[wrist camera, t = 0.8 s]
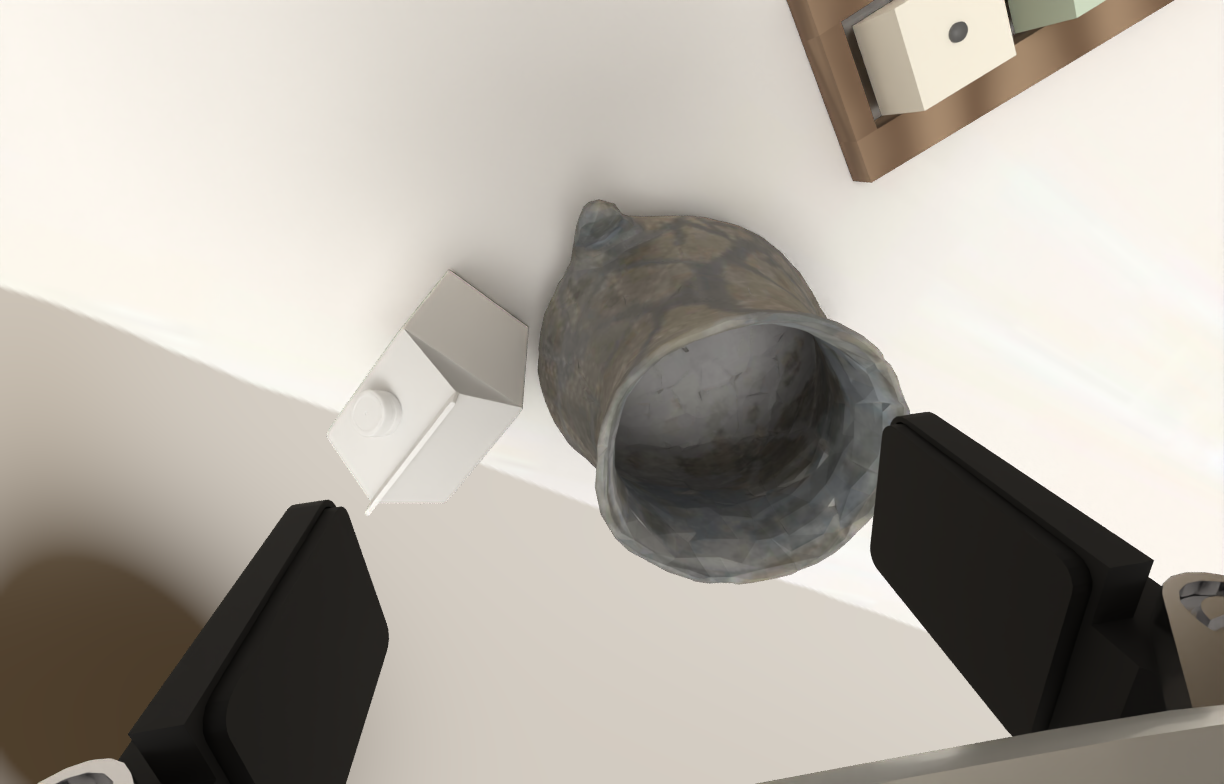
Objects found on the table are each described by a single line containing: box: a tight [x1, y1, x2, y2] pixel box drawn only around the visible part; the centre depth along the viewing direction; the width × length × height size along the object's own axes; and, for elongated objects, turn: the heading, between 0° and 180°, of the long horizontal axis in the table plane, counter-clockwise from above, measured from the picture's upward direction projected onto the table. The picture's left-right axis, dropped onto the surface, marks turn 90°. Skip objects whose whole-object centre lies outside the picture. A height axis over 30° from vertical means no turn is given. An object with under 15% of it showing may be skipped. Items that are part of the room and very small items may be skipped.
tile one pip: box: [852, 0, 1016, 116], centre depth 34 cm, size 6×6×5 cm
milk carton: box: [327, 270, 529, 516], centre depth 34 cm, size 7×7×19 cm
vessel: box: [538, 200, 910, 584], centre depth 35 cm, size 22×22×20 cm
